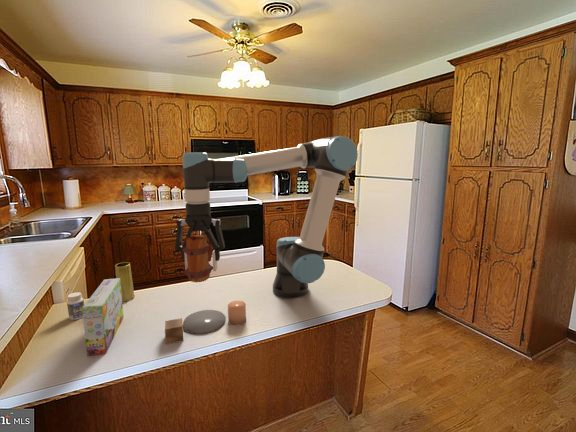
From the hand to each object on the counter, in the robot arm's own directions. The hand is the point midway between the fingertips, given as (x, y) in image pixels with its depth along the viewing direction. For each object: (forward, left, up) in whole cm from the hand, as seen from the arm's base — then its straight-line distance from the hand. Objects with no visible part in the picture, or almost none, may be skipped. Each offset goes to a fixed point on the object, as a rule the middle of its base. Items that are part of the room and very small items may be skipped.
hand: (201, 269), depth 100 cm
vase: (+36, -18, -19) cm, 45 cm away
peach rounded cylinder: (-11, -1, -19) cm, 22 cm away
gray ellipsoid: (0, 0, -19) cm, 19 cm away
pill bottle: (+46, -4, -19) cm, 50 cm away
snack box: (+29, +7, -19) cm, 36 cm away
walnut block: (+7, +9, -19) cm, 22 cm away
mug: (0, 0, -3) cm, 3 cm away
